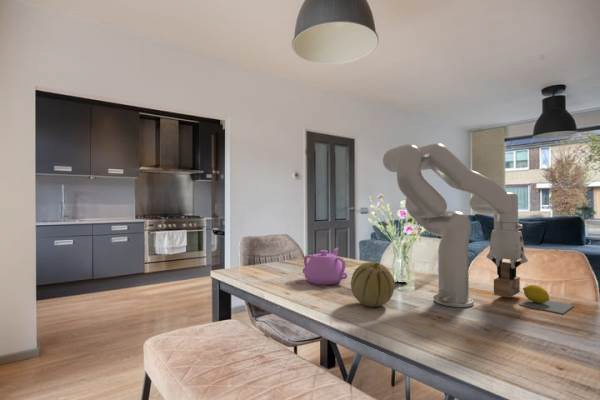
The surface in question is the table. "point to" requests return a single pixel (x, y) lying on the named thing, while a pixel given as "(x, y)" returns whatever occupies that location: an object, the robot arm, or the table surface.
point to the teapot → (324, 268)
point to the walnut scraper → (506, 282)
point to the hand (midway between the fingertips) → (506, 277)
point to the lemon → (536, 294)
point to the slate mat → (548, 306)
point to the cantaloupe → (372, 284)
